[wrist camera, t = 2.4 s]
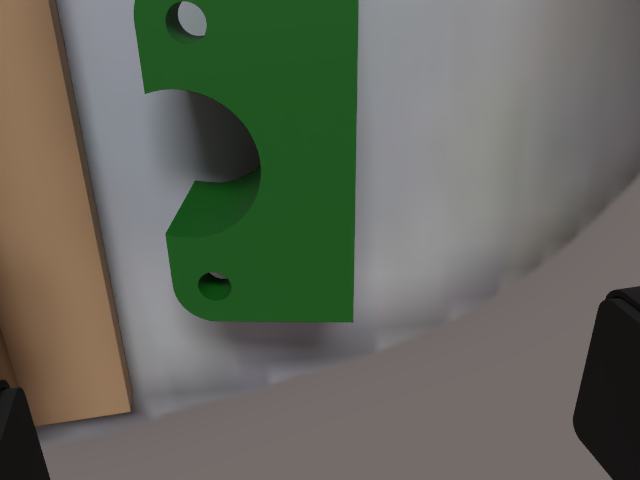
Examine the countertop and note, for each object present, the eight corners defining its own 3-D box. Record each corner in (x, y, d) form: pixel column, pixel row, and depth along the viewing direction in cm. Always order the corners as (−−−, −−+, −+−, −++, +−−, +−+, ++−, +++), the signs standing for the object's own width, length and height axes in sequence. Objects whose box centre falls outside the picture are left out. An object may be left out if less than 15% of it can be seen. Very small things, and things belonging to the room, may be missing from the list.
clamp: (203, 3, 25) (124, -107, 16) (352, 1, 24) (359, -110, 15) (207, 297, 26) (135, 354, 16) (350, 298, 25) (356, 357, 16)
